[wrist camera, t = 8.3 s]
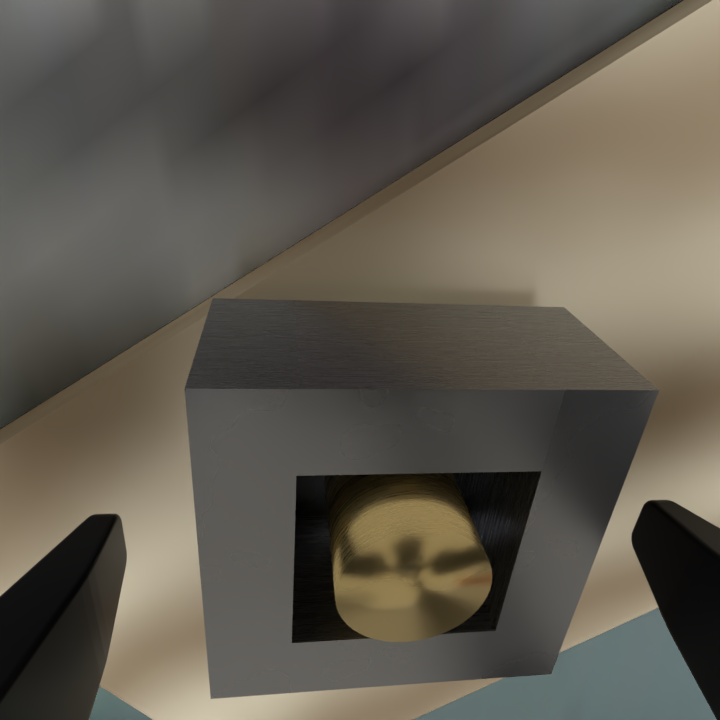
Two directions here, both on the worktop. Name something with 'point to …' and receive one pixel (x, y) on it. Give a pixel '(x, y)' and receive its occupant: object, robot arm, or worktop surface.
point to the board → (429, 286)
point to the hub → (399, 551)
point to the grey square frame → (399, 456)
